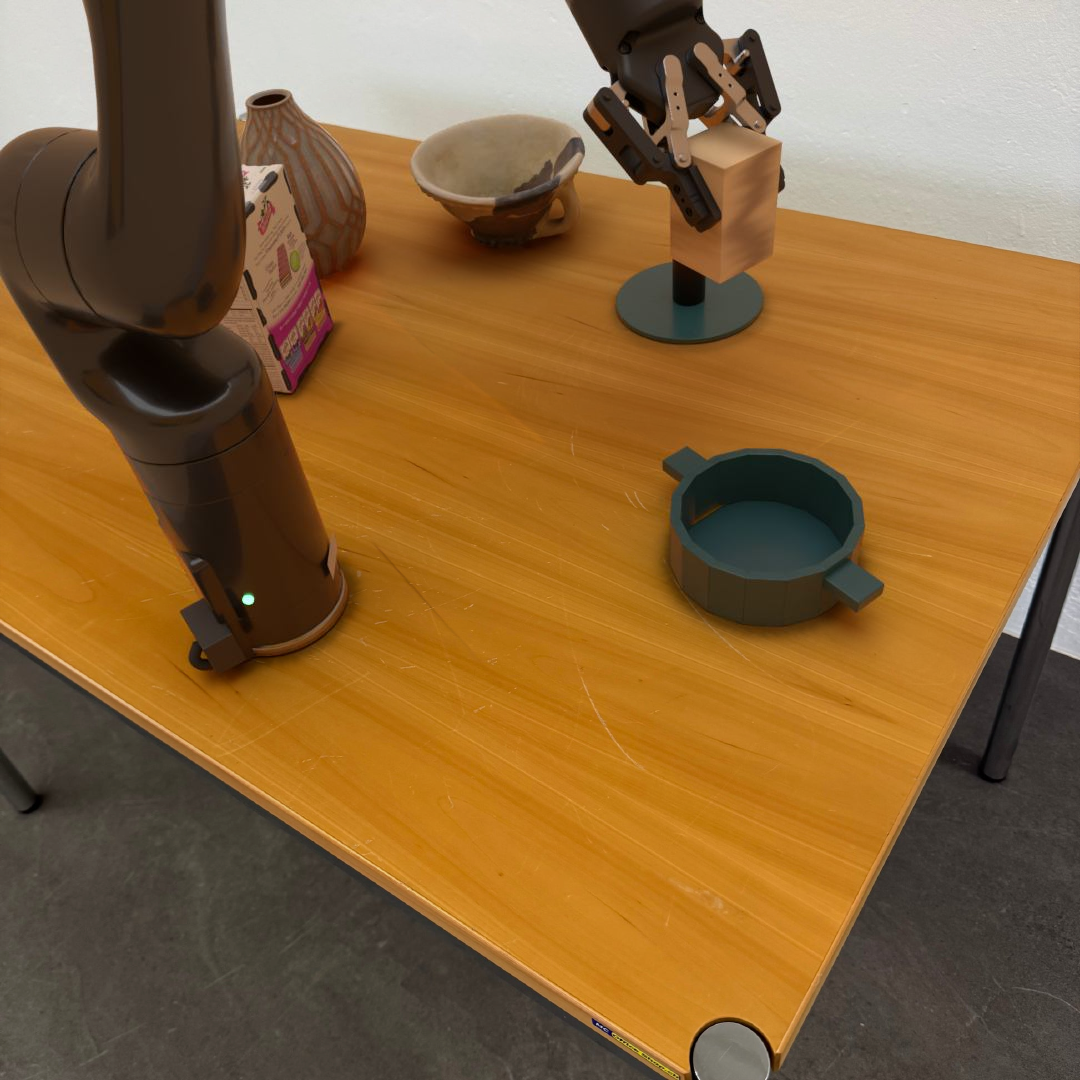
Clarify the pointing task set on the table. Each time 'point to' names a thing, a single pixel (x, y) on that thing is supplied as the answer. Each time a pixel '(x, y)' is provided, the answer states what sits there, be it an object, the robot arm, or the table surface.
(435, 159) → the bowl
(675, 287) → the lid
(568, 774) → the table surface
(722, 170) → the block
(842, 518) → the pot
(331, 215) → the vase
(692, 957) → the table surface
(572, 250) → the table surface
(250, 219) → the candy bar box
